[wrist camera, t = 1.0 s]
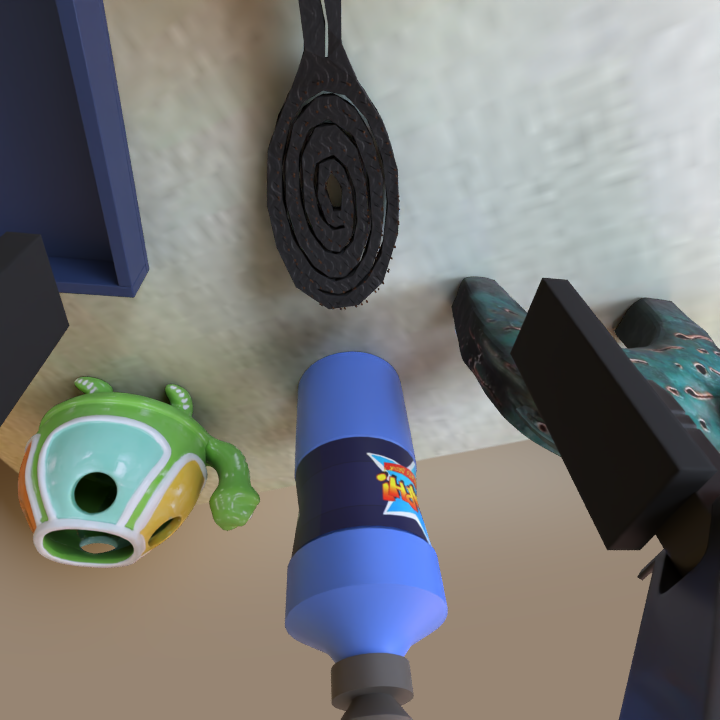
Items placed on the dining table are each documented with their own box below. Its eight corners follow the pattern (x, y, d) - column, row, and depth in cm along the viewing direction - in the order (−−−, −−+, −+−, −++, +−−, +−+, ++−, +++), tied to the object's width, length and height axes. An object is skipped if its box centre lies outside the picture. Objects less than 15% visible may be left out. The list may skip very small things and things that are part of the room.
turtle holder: (257, 476, 49) (243, 595, 39) (62, 457, 45) (-3, 584, 36) (275, 390, 41) (263, 513, 32) (43, 357, 37) (-46, 487, 28)
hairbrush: (418, -309, 16) (403, 312, 32) (404, -262, 19) (396, 285, 34) (176, -302, 16) (278, 319, 31) (199, -256, 19) (282, 292, 34)
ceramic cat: (698, 291, 37) (962, 522, 22) (650, 354, 41) (846, 586, 26) (460, 254, 34) (579, 498, 18) (433, 327, 38) (513, 576, 22)
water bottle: (364, 331, 38) (413, 715, 18) (421, 398, 43) (505, 750, 24) (273, 384, 40) (235, 762, 21) (337, 440, 46) (352, 784, 27)
